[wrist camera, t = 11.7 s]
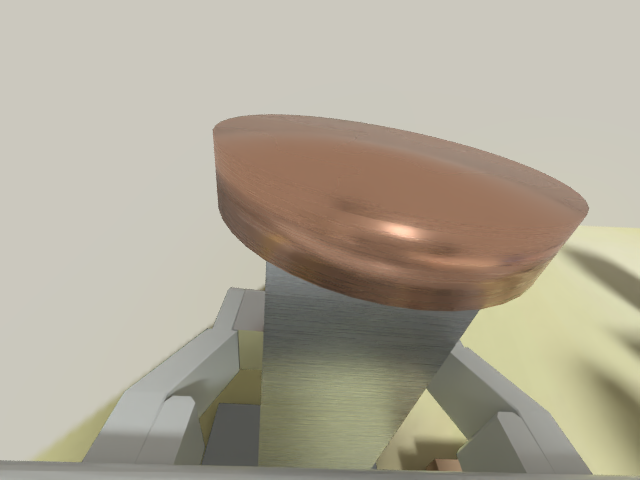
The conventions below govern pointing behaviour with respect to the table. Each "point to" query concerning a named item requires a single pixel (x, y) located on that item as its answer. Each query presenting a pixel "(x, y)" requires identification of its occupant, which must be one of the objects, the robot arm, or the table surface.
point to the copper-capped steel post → (373, 267)
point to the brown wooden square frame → (444, 465)
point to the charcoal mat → (235, 436)
